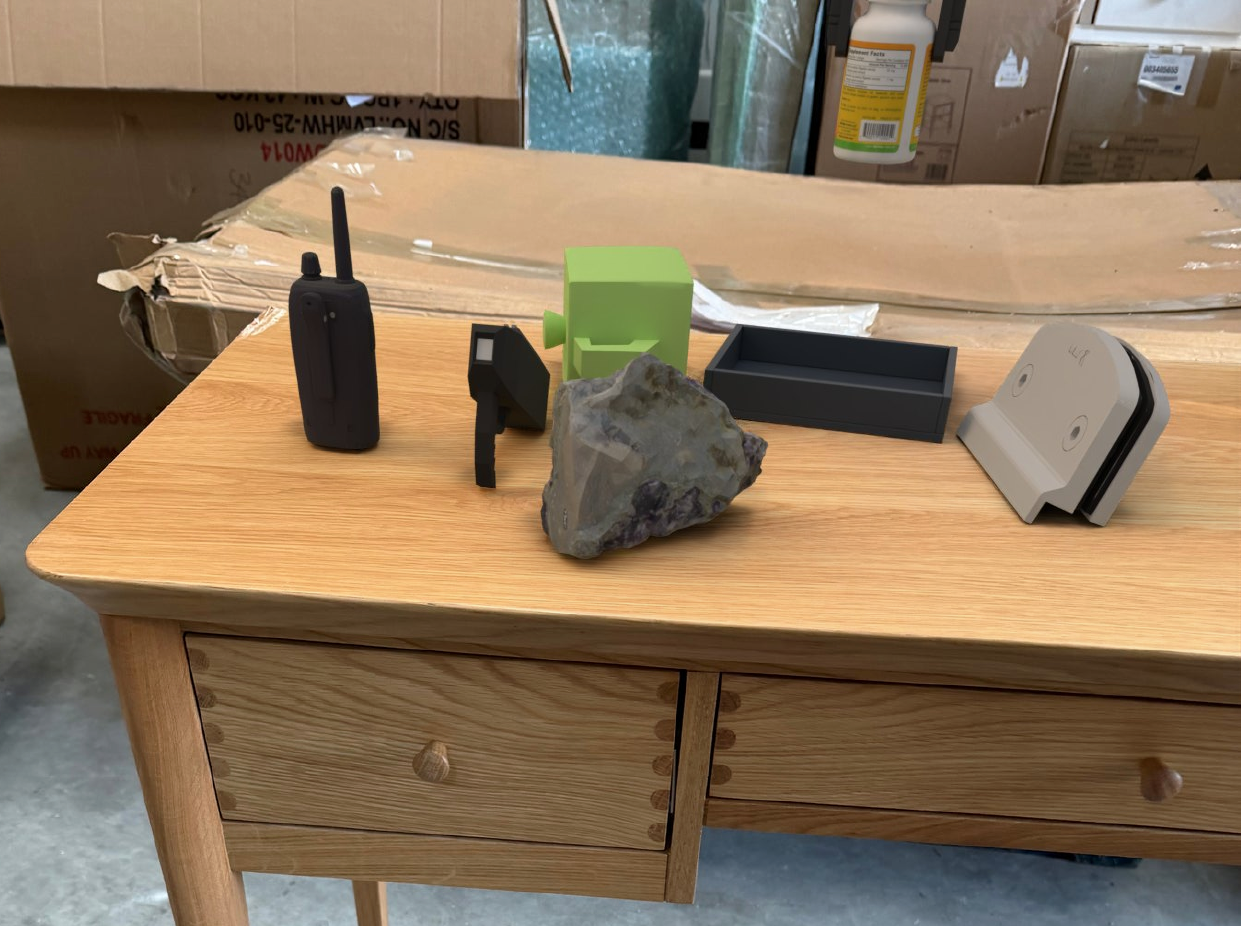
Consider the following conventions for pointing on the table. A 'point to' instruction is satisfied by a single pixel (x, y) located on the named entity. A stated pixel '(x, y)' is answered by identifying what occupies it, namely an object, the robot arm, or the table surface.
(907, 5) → the supplement bottle
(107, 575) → the table surface
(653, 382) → the mineral rock
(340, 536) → the table surface
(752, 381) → the tray
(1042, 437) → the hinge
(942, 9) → the robot arm
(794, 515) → the table surface
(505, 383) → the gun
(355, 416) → the two-way radio
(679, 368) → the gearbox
